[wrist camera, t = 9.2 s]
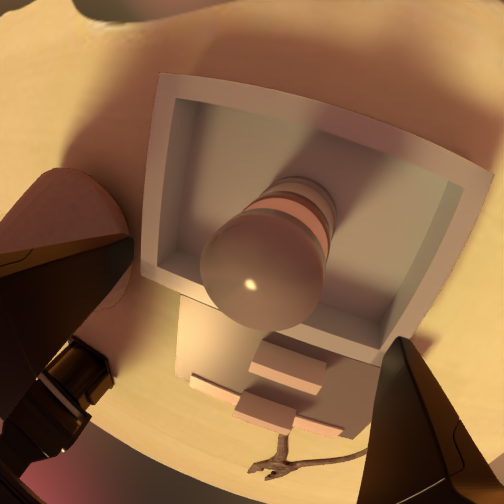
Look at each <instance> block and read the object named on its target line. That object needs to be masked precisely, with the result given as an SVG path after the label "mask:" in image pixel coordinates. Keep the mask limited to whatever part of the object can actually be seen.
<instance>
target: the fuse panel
mask: <svg viewBox="0 0 504 504" xmlns="http://www.w3.org/2000/svg"><path fill="white" fill-rule="evenodd" d="M380 370H381V367H378V366H375V365H372V364H369V363H366V362H362V361H359V360H356V359H353V358H350V357H347V356H344V355H341V354H338V353H335V352H332V351H329V350H326V349H323V348H320V347H317V346H314V345H311V344H309V343H306V342H303V341H300V340H297V339H295V338H292V337H289V336H286V335H284V334H281V333H278V332H276V331H260V330H255V329H251V328H248V327H245V326H243V325H241V324H239V323H237V322H235V321H233V320H232V319H230V318H229V317H227V316H226V315H225V314H224V313H223V312H221V311H220V310H219V309H217V308H214V307H212V306H209V305H207V304H205V303H202V302H200V301H198V300H195V299H193V298H190V297H188V296H186V295H183V294H181V298H180V309H179V321H178V334H177V349H176V366H175V375H176V376H178V377H181V378H183V379H185V380H187V381H189V382H190V386H191V387H193V388H195V389H197V390H200V391H202V392H204V393H206V394H209V395H211V396H213V397H215V398H218V399H220V400H222V401H225V402H227V403H230V404H232V405H235V406H236V407H235V410H234V412H233V415H232V416H233V417H236V418H238V419H241V420H244V421H246V422H249V423H251V424H254V425H257V426H260V427H262V428H265V429H268V430H271V431H274V432H277V433H280V434H283V435H286V436H287V435H288V434H289V432H290V431H291V428H292V426H293V427H296V428H299V429H302V430H305V431H309V432H312V433H316V434H319V435H323V436H326V437H330V438H333V439H335V438H336V437H337V436H341V437H344V438H348V439H352V440H353V439H354V438H355V437H356V436H357V435H358V434H359V433H360V432H361V431H362V430H363V429H364V428H365V427H366V426H367V425H368V424H369V423H370V422H371V421H372V414H373V405H374V399H375V394H376V389H377V385H378V380H379V375H380Z"/></svg>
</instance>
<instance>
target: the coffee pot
mask: <svg viewBox="0 0 504 504" xmlns="http://www.w3.org/2000/svg"><path fill="white" fill-rule="evenodd" d="M117 233H126V234H128V235H130V232H129V229H128V225H127V222H126V219H125V217H124V215H123V213H122V210H121V208H120V206H119V205H118V204H117V202H116V201H115V200H114V198H113V197H112V196H111V195H110V194H109V193H108V192H107V191H106V190H105V189H104V188H103V187H102V186H101V185H100V184H98V183H97V182H96V181H95V180H94V179H93V178H92V177H91V176H89V175H86V174H84V173H82V172H80V171H78V170H74V169H70V168H53V169H51V170H49V171H47V172H45V173H43V174H42V175H41V176H40V177H39V178H38V179H37V180H36V181H35V182H34V183H33V184H32V185H31V186H30V188H29V189H28V190H27V191H26V192H25V193H24V194H23V195H22V196H21V198H20V199H19V200H18V201H17V202H16V203H15V205H14V206H13V207H12V208H11V209H10V211H9V212H8V213H7V214H6V216H5V217H4V218H3V219H2V221H1V222H0V254H1V253H7V252H14V251H19V250H25V249H30V248H33V249H34V248H36V247H41V246H47V245H52V244H58V243H63V242H69V241H75V240H81V239H86V238H92V237H99V236H105V235H111V234H117ZM131 271H132V264H131V265H130V267H129V268H128V269H127V271H126V272H125V273H124V275H123V276H122V277H121V279H120V280H119V281H118V282H117V284H116V285H115V286H114V288H113V289H112V290H111V292H110V293H109V294H108V295H107V296H106V298H105V299H104V300H103V301H102V302H101V303H100V304H99V305H98V306H97V308H96V309H95V310H94V311H93V312H95V311H99V310H103V309H107V308H111V307H113V306H114V305H115V304H116V303H117V302H118V301H119V300H121V298H122V297H123V295H124V292H125V290H126V288H127V286H128V283H129V280H130V277H131Z"/></svg>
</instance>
